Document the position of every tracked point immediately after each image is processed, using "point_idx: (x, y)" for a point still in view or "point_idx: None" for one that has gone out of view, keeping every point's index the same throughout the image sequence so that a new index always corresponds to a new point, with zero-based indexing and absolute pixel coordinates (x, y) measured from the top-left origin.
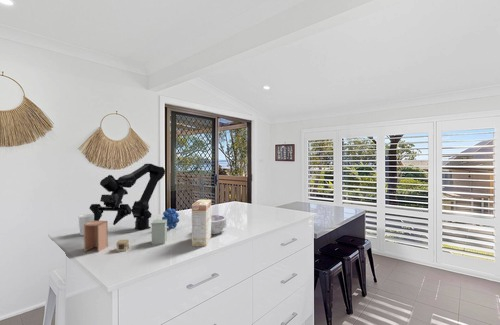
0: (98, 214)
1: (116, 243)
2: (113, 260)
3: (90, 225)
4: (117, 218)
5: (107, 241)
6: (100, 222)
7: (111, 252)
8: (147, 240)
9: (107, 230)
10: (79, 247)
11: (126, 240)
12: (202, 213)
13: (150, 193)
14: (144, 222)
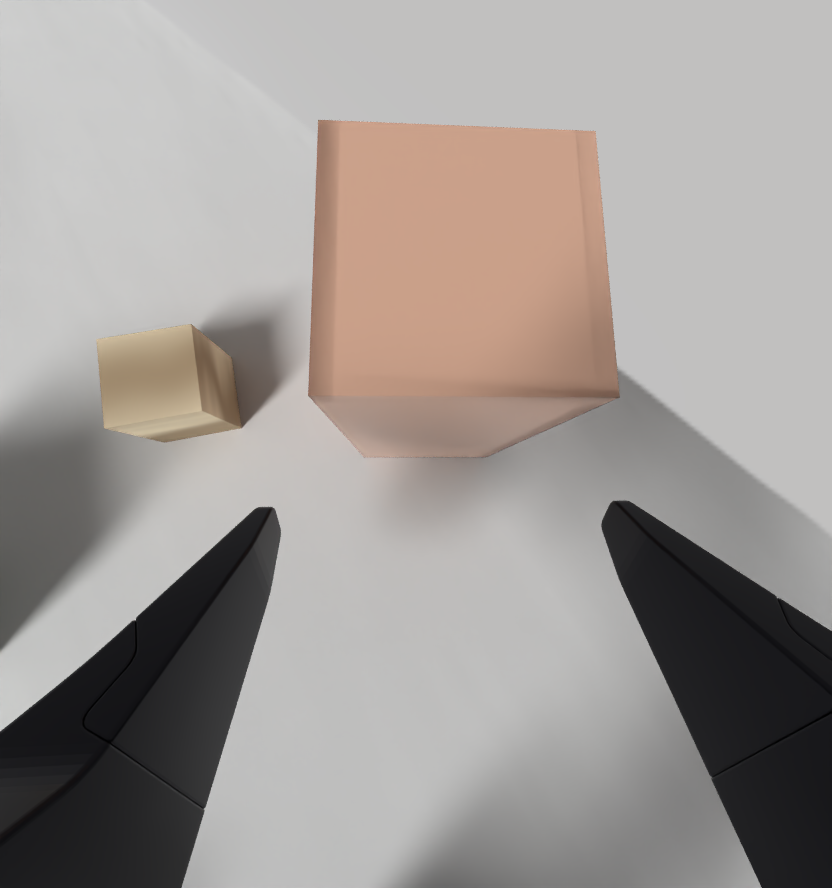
0: (806, 756)
1: (195, 328)
2: (167, 195)
3: (469, 144)
4: (162, 609)
5: (359, 450)
6: (375, 259)
7: (259, 333)
8: (59, 661)
9: (342, 431)
10: (584, 425)
11: (113, 388)
12: None
13: None
14: None
